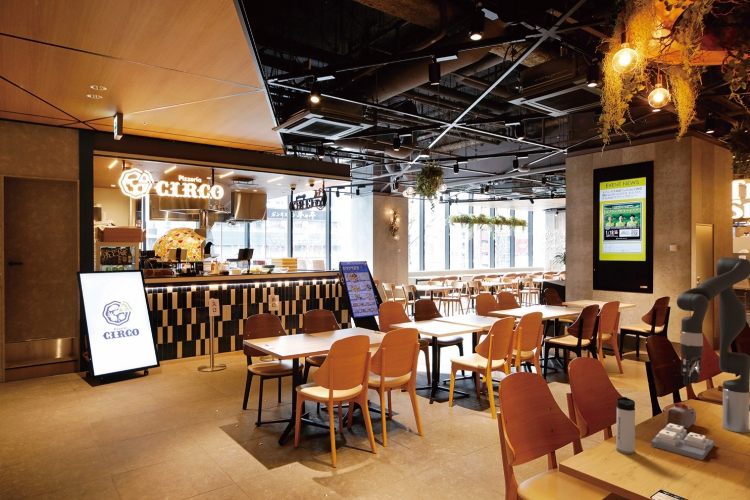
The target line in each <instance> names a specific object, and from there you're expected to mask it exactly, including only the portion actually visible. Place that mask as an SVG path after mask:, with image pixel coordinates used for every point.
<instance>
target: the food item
mask: <svg viewBox="0 0 750 500" xmlns="http://www.w3.org/2000/svg"><path fill="white" fill-rule="evenodd" d="M666 413H667V414H666V426H667V425H668V424H669V423H671V424H675V425H679V426H683V427H684V428H683V429H684V430H685V429H690V427H692V425H694V424H695V423H696V420H697V411H695V410H694V408H693V407H692V406H690V405H689V404H682V403H677V402H676V403H674V404H673V406H672V407H670V408H667V412H666Z"/></svg>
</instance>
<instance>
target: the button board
mask: <svg viewBox="0 0 750 500" xmlns="http://www.w3.org/2000/svg"><path fill="white" fill-rule="evenodd" d="M662 429H663V430H666V427H664V428H662ZM667 431H669V430H667ZM671 432H673V431H671ZM675 433H677V432H675ZM688 434H689V433H687V429H685V428H684V429H683V432H682V433H677V438H676V439H675V440H670V439H667V438H663V437H659V433H658V434H656V435H655V437H654V438H653V439H652V440H651V441H650V443H651V444H650V446H651V447H654V448H657V449H660V450H664V451H668V452H672V453H674V454H678V455H682V456H685V457H689V458H692V459H696V460H700V461H704V459H705V458H706V456H707V455H708V454H709V453H710V452H711V450H713V448H714V446H715V441H714V440H711V439H710V438H709V439H707V438H705V442H704V443H699V442H695V441H691V440H687V435H688Z"/></svg>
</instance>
